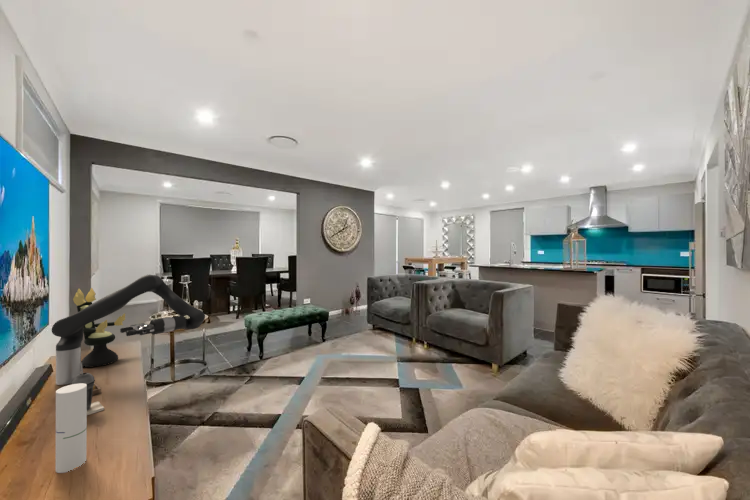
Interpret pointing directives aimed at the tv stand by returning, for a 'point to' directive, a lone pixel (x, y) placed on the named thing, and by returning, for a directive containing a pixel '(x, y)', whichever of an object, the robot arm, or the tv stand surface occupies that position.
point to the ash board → (95, 408)
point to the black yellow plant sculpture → (96, 334)
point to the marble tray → (96, 389)
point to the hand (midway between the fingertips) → (123, 332)
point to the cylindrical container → (71, 427)
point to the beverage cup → (88, 380)
